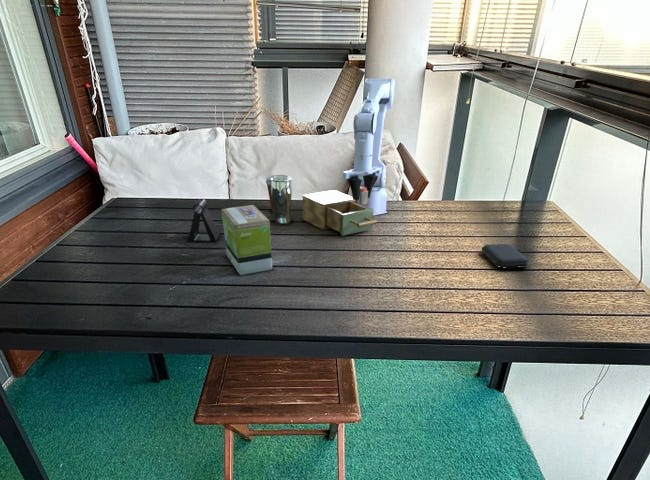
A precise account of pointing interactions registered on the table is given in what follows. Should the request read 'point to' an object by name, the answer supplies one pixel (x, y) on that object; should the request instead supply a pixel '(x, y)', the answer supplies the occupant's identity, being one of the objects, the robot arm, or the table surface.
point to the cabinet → (321, 206)
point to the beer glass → (281, 199)
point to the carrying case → (504, 256)
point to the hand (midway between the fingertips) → (361, 198)
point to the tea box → (247, 239)
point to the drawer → (349, 218)
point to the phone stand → (208, 223)
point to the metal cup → (268, 182)
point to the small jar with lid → (362, 196)
